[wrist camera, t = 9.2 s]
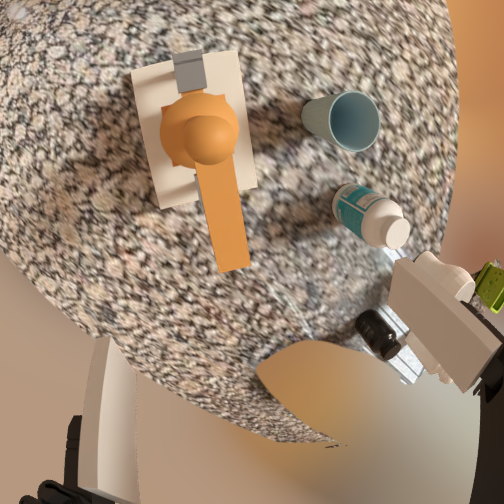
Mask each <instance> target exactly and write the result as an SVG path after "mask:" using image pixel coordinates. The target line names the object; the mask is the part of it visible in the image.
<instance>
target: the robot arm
mask: <svg viewBox="0 0 504 504" xmlns="http://www.w3.org/2000/svg"><path fill="white" fill-rule="evenodd" d="M387 305H388V306H389V307H390V308H391V309H392V310H393V311H394V312H395V313H396V314H397V316H398V317H399V318H400V319H401V320H402V321H403V322H404V323H405V324H406V326H407V327H408V328H409V329H410V330H411V331H412V332H413V333H414V335H415V336H416V337H417V338H418V339H419V340H420V342H421V343H422V344H423V345H424V346H425V347H426V349H427V350H428V351H429V352H430V353H431V354H432V356H433V357H434V358H435V359H436V360H437V362H438V363H439V364H440V365H441V366H442V368H443V369H444V370H445V371H446V373H447V374H448V375H449V376H450V378H451V379H452V380H453V381H454V383H455V384H456V385H457V386H458V387H459V389H460V390H461V391H462V393H465V392H466V391H467V390H468V389H469V388H471V387H472V386H473V385H474V384H475V382H476V381H477V380H478V378H479V377H481V379H482V380H481V381H480V383H479V384H478V385H477V387H476V388H475V390H474V391H473V395H475V394H476V393H477V392H478V391H479V389H480V391H479V392H478V395H479V396H480V410H481V411H480V434H479V448H478V457H477V465H476V472H475V478H474V483H473V489H472V494H471V498H470V503H469V504H504V336H503V335H502V334H501V333H500V332H499V331H498V330H497V329H496V328H495V327H494V326H493V325H492V324H491V323H490V322H489V321H488V320H487V319H485V318H484V316H483V315H481V314H479V312H478V311H477V310H476V309H475V308H474V307H473V306H472V305H470V304H468V303H466V302H464V301H462V300H461V301H460V302H459V301H458V300H457V299H456V298H455V297H454V296H453V295H451V294H450V293H449V292H448V291H447V290H446V289H445V288H444V287H442V286H441V285H440V284H439V283H438V282H437V281H435V280H434V279H433V278H432V277H431V276H430V275H428V274H427V273H426V272H425V271H424V270H422V269H421V268H420V267H419V266H417V265H416V264H415V263H414V262H413V261H411V260H410V259H409V258H408V257H404V258H401V259H398V260H395V264H394V270H393V276H392V282H391V287H390V292H389V297H388V302H387ZM136 381H137V374H136V373H135V372H134V370H133V369H132V367H131V366H130V364H129V363H128V361H127V360H126V358H125V357H124V355H123V354H122V352H121V351H120V349H119V348H118V346H117V345H116V343H115V342H114V340H113V338H112V337H111V336H108V337H102V338H97V339H96V342H95V346H94V351H93V355H92V360H91V365H90V370H89V376H88V381H87V387H86V393H85V400H84V407H83V414H82V415H80V416H78V415H77V416H73V418H72V420H71V422H70V424H69V426H68V434H67V439H68V441H67V444H66V448H67V450H66V455H65V469H64V484H63V485H61V484H59V483H57V482H55V481H53V480H46V481H44V482H42V484H40V486H39V488H38V492H37V493H38V499H36V498H34V497H32V496H30V495H25V496H23V497H22V498H21V499H20V501H19V504H115V502H116V503H119V504H141V502H140V493H139V483H138V470H137V453H136Z"/></svg>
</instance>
